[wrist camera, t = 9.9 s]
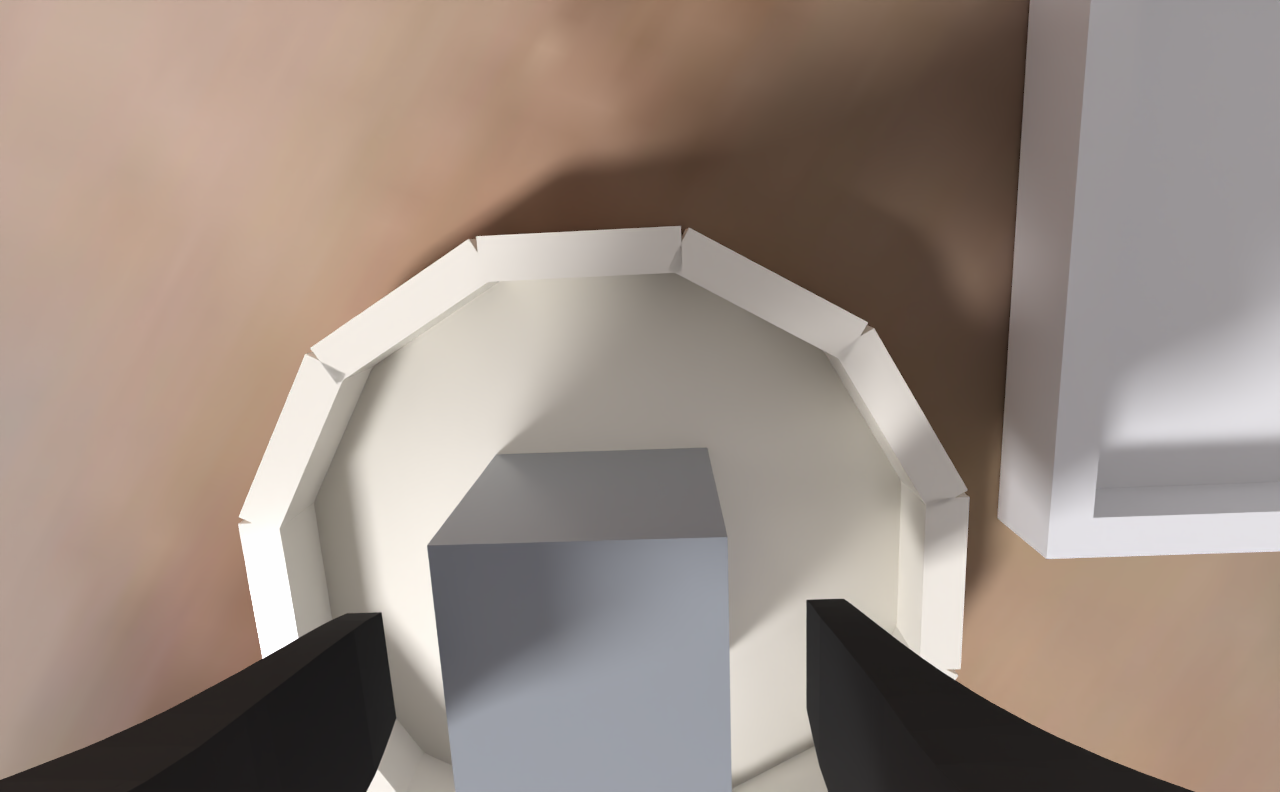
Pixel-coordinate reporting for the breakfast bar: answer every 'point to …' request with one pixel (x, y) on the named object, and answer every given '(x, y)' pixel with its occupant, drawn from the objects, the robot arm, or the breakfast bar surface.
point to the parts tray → (1146, 282)
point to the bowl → (606, 421)
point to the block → (586, 624)
